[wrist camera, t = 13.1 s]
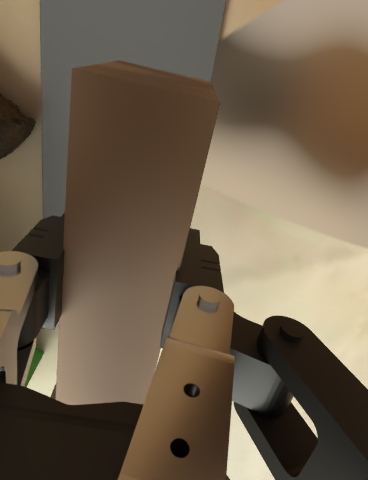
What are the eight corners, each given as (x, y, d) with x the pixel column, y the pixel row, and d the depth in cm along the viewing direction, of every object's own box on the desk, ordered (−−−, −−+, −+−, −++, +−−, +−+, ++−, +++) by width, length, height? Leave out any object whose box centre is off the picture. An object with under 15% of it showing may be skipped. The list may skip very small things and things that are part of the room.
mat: (45, 225, 28) (43, 228, 28) (40, -233, 17) (36, -241, 17) (179, 247, 29) (179, 249, 29) (259, -183, 18) (261, -189, 17)
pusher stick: (55, 398, 19) (14, 501, 15) (72, 49, 11) (-7, 50, 7) (162, 414, 20) (154, 519, 15) (254, 91, 12) (290, 118, 7)
